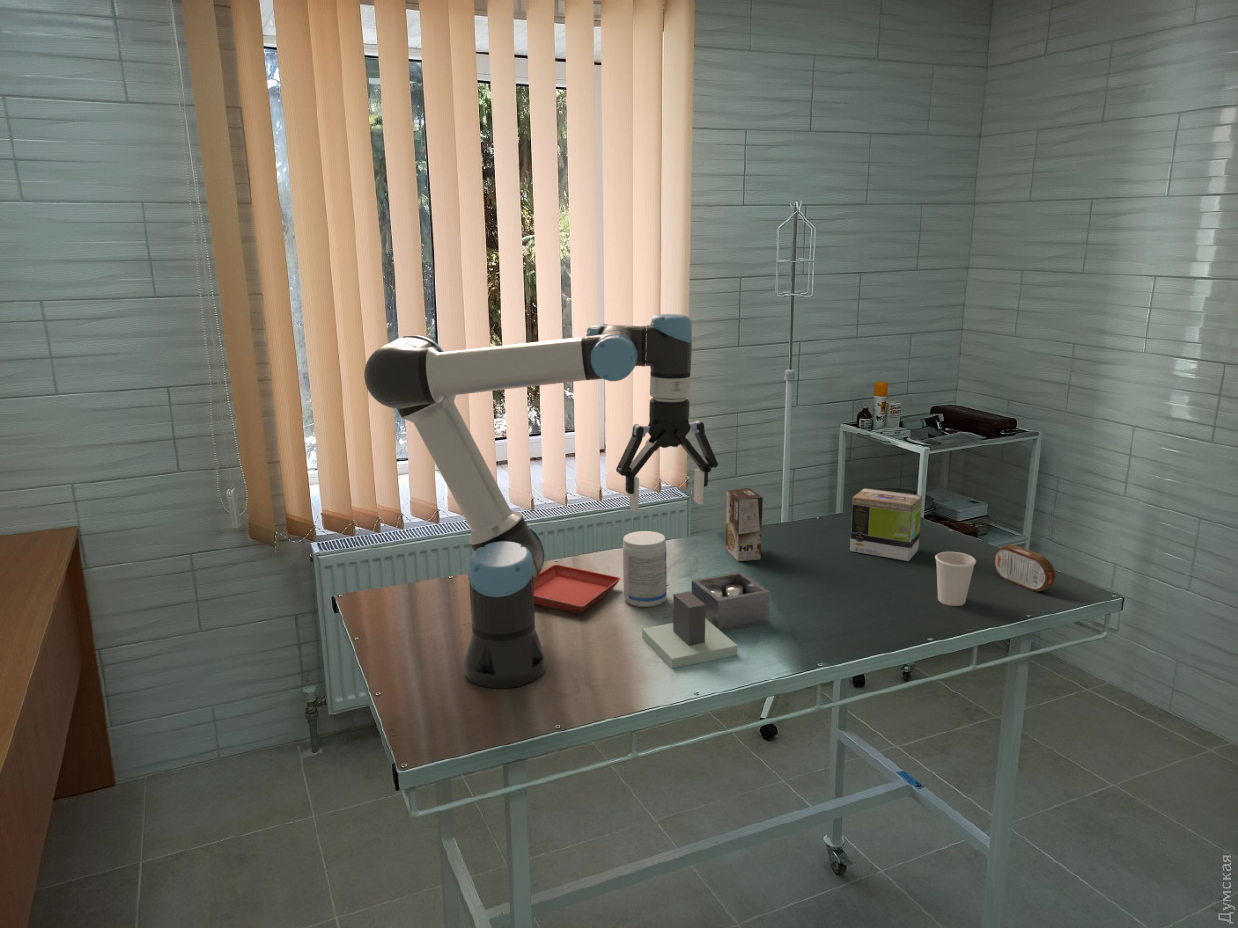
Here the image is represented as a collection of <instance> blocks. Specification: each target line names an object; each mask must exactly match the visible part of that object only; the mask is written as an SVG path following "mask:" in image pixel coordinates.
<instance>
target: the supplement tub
mask: <svg viewBox="0 0 1238 928" xmlns="http://www.w3.org/2000/svg"><path fill="white" fill-rule="evenodd" d="M622 540H623V543H622V567H623V568H622V569H623V571H622V572H623V598H624V600H625V602H626V603H627V604H629V605H631V606H635V607H639V608H651V607H657V606H659V605H661V604H663V603H664V602H665V601H666V600H667V595H668V594H667V593H668V592H667V589H668V587H667V583H668V582H667V579H668V578H667V577H668V576H667V572H668V571H667V543H666V541H667V540H666V536H665V535H664V534H662V533H660V532H657V531H650V530H649V531H648V530H647V531H646V530H645V531H644V530H641V531H633V532H630V533H627V534H625V535H624V536H623V539H622Z"/></svg>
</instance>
